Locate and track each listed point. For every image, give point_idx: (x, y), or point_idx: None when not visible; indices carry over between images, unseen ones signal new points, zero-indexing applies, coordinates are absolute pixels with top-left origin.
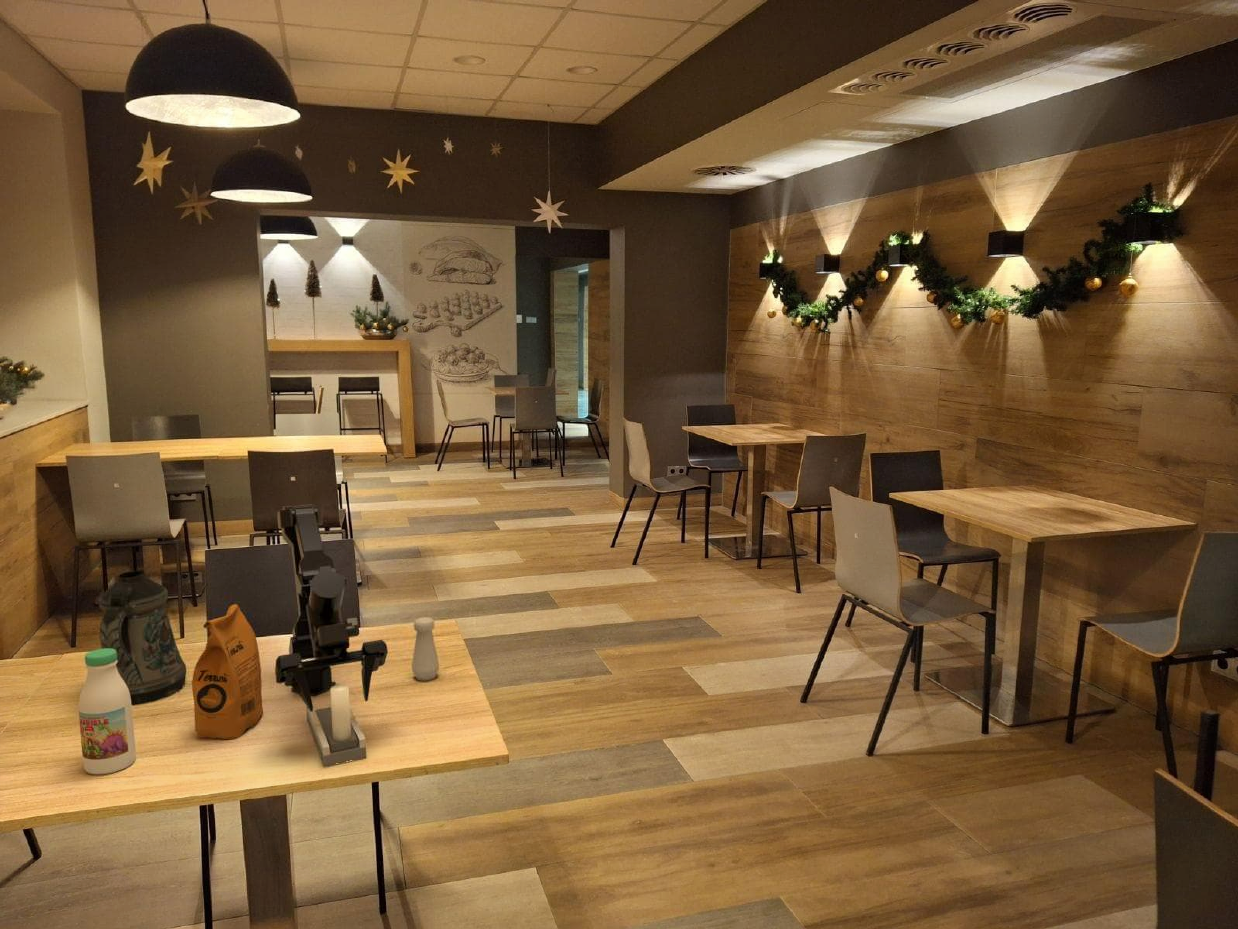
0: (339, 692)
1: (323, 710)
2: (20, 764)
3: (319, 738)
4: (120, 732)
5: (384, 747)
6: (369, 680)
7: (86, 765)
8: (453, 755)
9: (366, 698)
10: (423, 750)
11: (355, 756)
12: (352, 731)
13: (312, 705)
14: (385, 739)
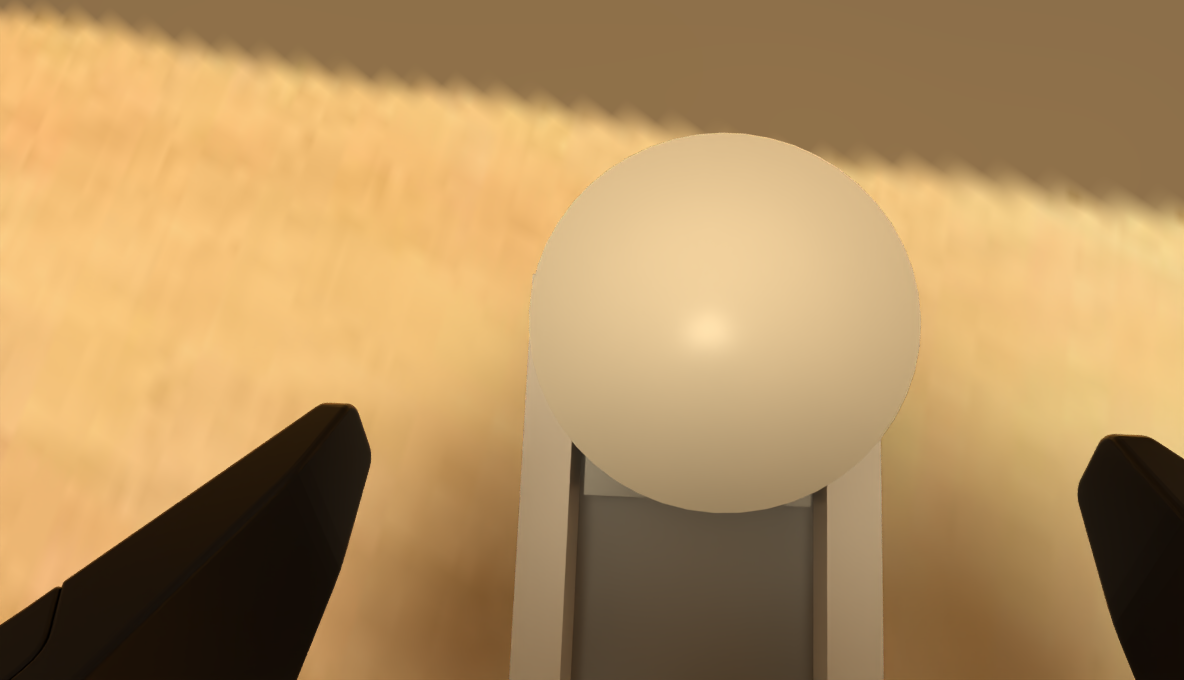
0: (754, 149)
1: None
2: None
3: (880, 487)
4: None
5: (416, 402)
6: (94, 575)
7: None
8: (116, 98)
9: (341, 406)
10: (228, 239)
11: None
12: (592, 465)
13: (1139, 458)
14: (374, 521)
